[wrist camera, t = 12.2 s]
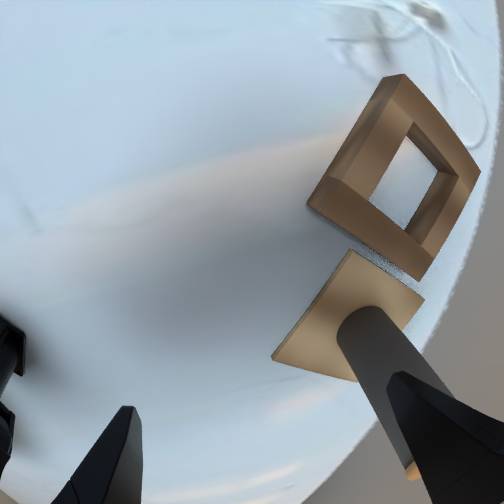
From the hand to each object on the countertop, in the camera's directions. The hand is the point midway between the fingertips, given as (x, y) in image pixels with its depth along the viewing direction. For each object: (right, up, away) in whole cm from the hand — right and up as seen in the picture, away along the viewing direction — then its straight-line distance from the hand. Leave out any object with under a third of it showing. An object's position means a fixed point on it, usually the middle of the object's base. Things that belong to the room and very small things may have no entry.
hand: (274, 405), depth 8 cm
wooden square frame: (+10, +10, +11) cm, 18 cm away
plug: (+9, -2, +15) cm, 18 cm away
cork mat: (+8, -2, +15) cm, 18 cm away
